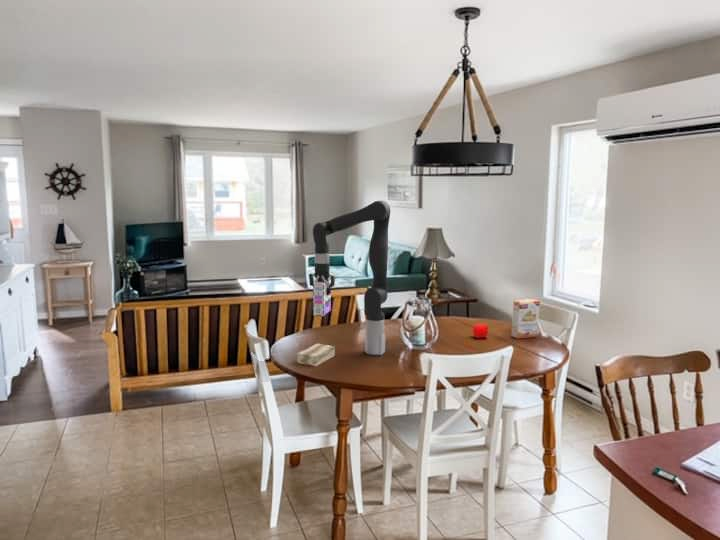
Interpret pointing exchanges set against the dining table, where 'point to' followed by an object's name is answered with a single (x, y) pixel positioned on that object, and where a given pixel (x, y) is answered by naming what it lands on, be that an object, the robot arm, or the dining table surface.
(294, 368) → the dining table surface
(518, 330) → the cracker box
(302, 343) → the dining table surface
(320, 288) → the candy box
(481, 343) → the dining table surface
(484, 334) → the red piece
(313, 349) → the riser
